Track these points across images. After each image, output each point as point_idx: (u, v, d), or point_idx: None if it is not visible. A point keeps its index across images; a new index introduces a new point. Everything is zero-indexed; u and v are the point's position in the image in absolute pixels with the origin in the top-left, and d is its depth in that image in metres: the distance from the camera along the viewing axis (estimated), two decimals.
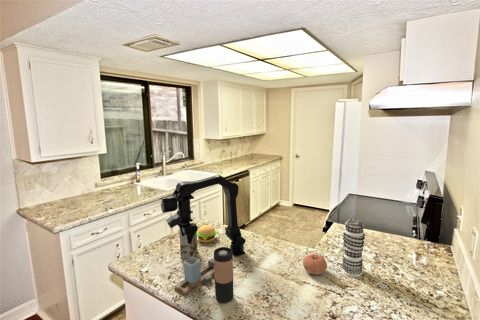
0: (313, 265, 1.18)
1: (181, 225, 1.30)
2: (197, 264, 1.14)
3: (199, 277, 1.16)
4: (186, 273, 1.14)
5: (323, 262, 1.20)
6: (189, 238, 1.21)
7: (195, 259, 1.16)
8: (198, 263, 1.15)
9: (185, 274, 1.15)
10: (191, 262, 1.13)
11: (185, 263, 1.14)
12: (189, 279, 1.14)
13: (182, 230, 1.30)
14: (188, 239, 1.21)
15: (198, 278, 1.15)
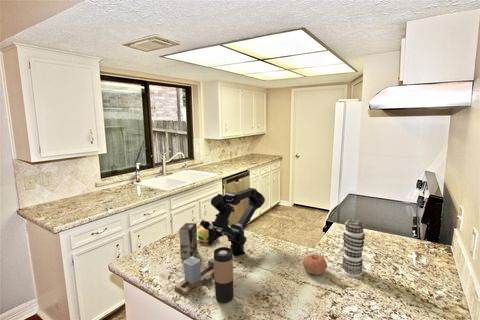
0: (313, 265, 1.18)
1: None
2: (197, 264, 1.14)
3: (199, 277, 1.16)
4: (186, 273, 1.14)
5: (323, 262, 1.20)
6: None
7: (195, 259, 1.16)
8: (198, 263, 1.15)
9: (185, 274, 1.15)
10: (191, 262, 1.13)
11: (185, 263, 1.14)
12: (189, 279, 1.14)
13: None
14: None
15: (198, 278, 1.15)
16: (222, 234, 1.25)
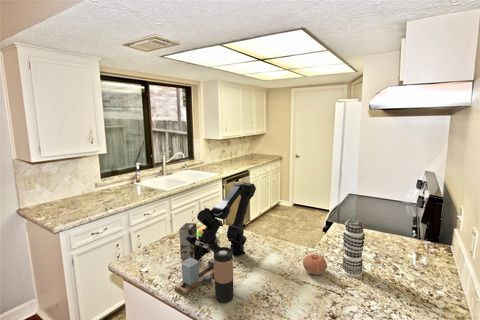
0: (313, 265, 1.18)
1: None
2: (195, 265, 1.13)
3: (197, 278, 1.15)
4: (184, 274, 1.13)
5: (323, 262, 1.20)
6: None
7: (193, 260, 1.15)
8: (196, 264, 1.14)
9: (183, 275, 1.14)
10: (189, 263, 1.12)
11: (183, 264, 1.13)
12: (187, 281, 1.13)
13: None
14: None
15: (196, 279, 1.14)
16: (209, 251, 1.18)
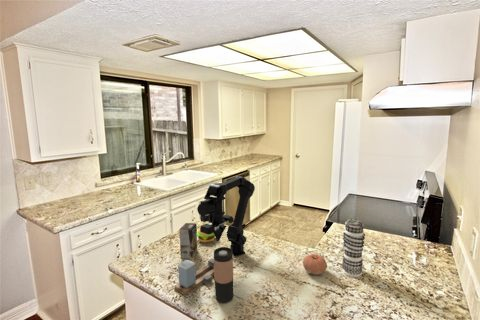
0: (313, 265, 1.18)
1: None
2: (191, 267, 1.12)
3: (194, 281, 1.13)
4: (180, 277, 1.12)
5: (323, 262, 1.20)
6: (216, 235, 1.27)
7: (190, 262, 1.13)
8: (193, 266, 1.12)
9: (179, 278, 1.12)
10: (185, 265, 1.11)
11: (179, 266, 1.11)
12: (183, 283, 1.11)
13: None
14: (215, 236, 1.28)
15: (193, 282, 1.13)
16: None
